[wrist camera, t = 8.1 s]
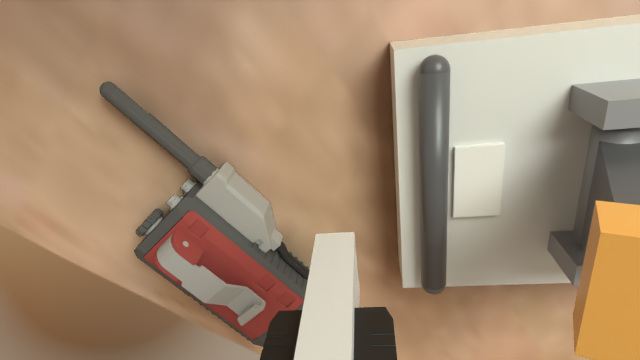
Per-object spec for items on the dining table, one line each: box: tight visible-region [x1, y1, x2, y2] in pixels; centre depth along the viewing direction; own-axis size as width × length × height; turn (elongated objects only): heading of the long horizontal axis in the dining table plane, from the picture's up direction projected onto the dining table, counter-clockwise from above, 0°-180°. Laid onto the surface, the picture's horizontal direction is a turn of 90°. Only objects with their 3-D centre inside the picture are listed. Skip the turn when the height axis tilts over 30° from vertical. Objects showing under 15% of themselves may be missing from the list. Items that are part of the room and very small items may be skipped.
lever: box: [572, 124, 640, 360], centre depth 16 cm, size 6×2×10 cm, turn 7°
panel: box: [390, 14, 640, 294], centre depth 20 cm, size 14×19×6 cm
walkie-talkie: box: [100, 82, 310, 346], centre depth 25 cm, size 9×4×20 cm
